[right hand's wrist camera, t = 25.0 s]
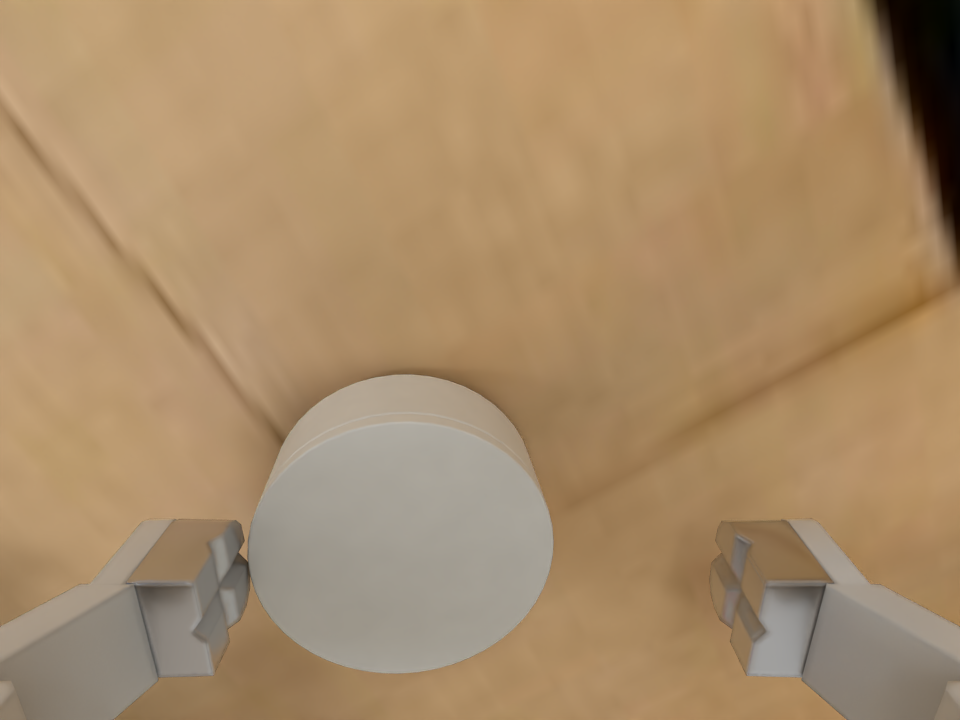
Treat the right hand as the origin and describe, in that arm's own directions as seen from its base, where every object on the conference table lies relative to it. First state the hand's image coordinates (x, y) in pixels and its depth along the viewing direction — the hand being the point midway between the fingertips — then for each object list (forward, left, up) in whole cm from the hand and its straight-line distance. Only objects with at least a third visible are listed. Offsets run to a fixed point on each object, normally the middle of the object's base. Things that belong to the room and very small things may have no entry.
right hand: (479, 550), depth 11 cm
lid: (+1, -1, -1) cm, 2 cm away
